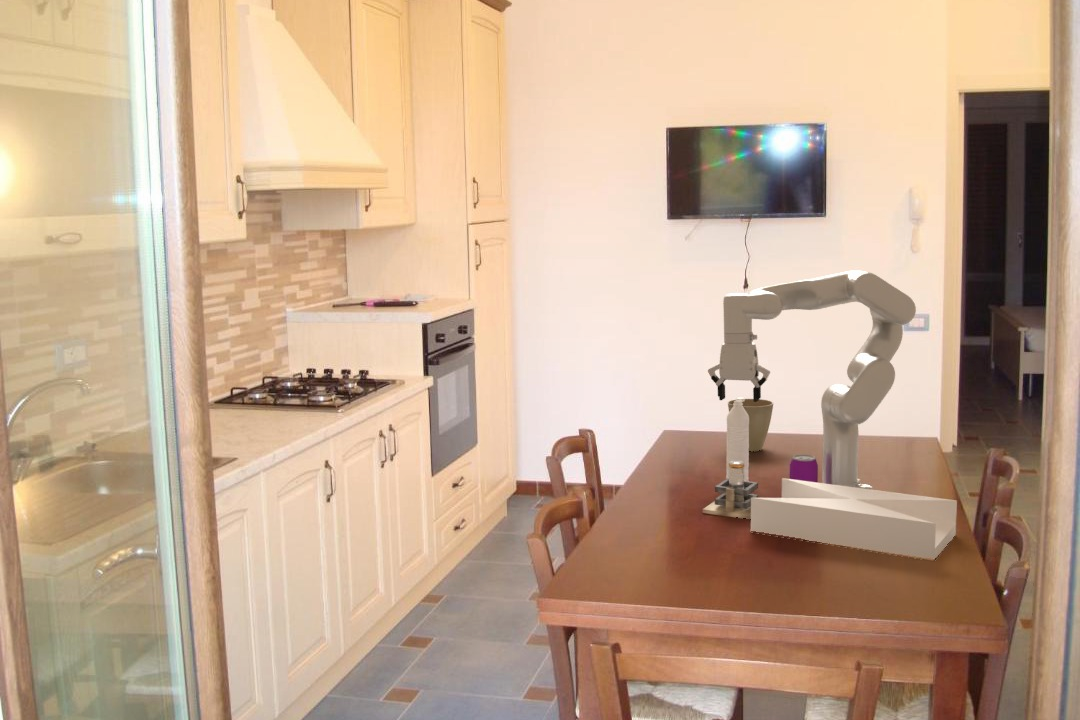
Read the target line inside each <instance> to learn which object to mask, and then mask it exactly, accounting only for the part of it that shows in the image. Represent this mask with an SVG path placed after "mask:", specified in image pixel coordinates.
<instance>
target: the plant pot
mask: <svg viewBox="0 0 1080 720" xmlns="http://www.w3.org/2000/svg"><path fill="white" fill-rule="evenodd" d="M734 401H736V399H731V400H729V401H727V407H728V413H729V412H730V410H731V409H732V408H733V406H734ZM742 404H743V405H742V406H743V408H744V409H745V411H746V412H747V414H748V416H749V449H748V450H749V451H751V453H752V452H753V451H754V452H760V451H762V449H763V446H764V443H765V442H766V438H767V436H768V432H769V429H770V425H771V419H772V415H773V409H774V402H773V401H772V400H768V399H762V398H760V399H759V401H757V402H754V401H753V398H745V401H744V402H742ZM759 450H760V451H759Z"/></svg>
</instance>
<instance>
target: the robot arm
mask: <svg viewBox="0 0 1080 720" xmlns="http://www.w3.org/2000/svg"><path fill="white" fill-rule="evenodd" d="M722 302H723V338H724V339H723V340H724V341H723V343H722V344H721V348H720V354H719V364H717V365H715V366H712V367H710V368H708V370H707V372H708V374H709V376H710V378H711V380H712V382H713V383H715V385H716V387H717V397H718V398H719V401H724V399H726V384H725V382H726V380H728V381H750V382H751V383H752V384H753V386H754V387H752V388H753V389H752V390H753V391H752V393H753V394H752V396H753V398H752V399H753V401H754V402H757V401H759V399H762V395H761V394H762V392H761V391H762V387H761V386H763V385H764V384H765V382H766V381H767V380H768V378H769V376H770V374H771V371H770V370H769V369H767V368H766V367H763V366H761V365H760V364H759V359H758V358H759V357H758V349H757V345H756V343H755V342H754V341H755V340H756V341H757V340H758V335H757V334H754V333H753V320H762V321H765V320H766V321H768V320H769V321H770V320H774V319H776V318H777V317H778V316H780V315H781V313H782V311H788V310H803V311H804V310H805V311H813V310H814V311H815V310H822V309H826V308H830V307H834V306H839V305H845V304H850V303H861V304H863V305H864V306H865V307H867V308H868V309H869V312H870V315H871V319H872V329H871V331H870V334H869V335H868V337H867V338H866V340H865V341H864V343H863V344H862V346H861V347H860V348H859V350H858V351H857V353H856V354H855V355H854V357H853V358H852V359H851V361H850V362H849V364H848V365H847V369H846V375H847V377H848V379H849V380H850V382H851V383H853V384H852V385H848V384H843V383H834V384H832V385H831V386H828V388H826V389H825V391H824V392H823V394H822V397H821V403H820V405H821V414H822V425H823V426H822V427H823V432H822V434H823V438H822V439H823V440H822V482H821V483H825V484H833V485H840V486H848V487H856V488H864V489H871V490H874V487H873V486H871V485H870V484H862V483H861V478H858V471H859V469H858V465H859V463H858V462H859V440H860V439H859V435H860V434H859V425H861V424H863V423H865V422H866V421H868V420H869V419H870V418H871V416H872V415H873V414H874V413H875V411H876V410H877V409H878V407H879V406H880V404H881V403H882V401H883V400H884V399H885V397H886V396H887V394H889V392H890V391H891V389H892V387H893V385H894V382H895V379H896V371H895V370H896V369H895V367H894V366H893V365H894V364H892V362H891V361H892V360H893V357H894V356H895V355H896V353H897V352H898V349H899V348H900V346H901V344H902V342H903V341H902V340H903V335H904V333H903V332H904V331H903V329H904V328H903V326H905V325H907V324H908V323H910V322H912V320H914V318H915V316H916V313H917V312H916V311H917V309H916V303H915V302H914V300H913V299H912V297H910V296H909V295H908V294H906V293H904V292H903V291H901V290H900V289H898V288H897V287H895V286H894V285H892V284H890V283H889V282H888V281H886V280H884V279H883V278H882V277H880V276H878V275H877V274H874V273H872V272H870V271H863V270H857V269H855V270H849V271H843V272H840V273H839V272H838V273H834V274H829V275H825V276H820V277H814V278H809V279H803V280H798V281H792V282H787V283H779V284H774V285H769V286H763V287H760V288H757V289H755V288H754V289H753V290H751V291H750V292H749V293H745V292H744V293H743V292H734V293H733V292H732V293H727V294H726V295H724V297H723V301H722ZM716 371H718V372H719V376H718V375H717V374H716ZM760 373H761V374H762V378H761V379H759V375H760Z"/></svg>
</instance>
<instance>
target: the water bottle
mask: <svg viewBox="0 0 1080 720" xmlns="http://www.w3.org/2000/svg"><path fill="white" fill-rule="evenodd" d="M745 399H746V398H745V397H741V396H739V397H736V398H735V400H736V401H734V406H733V408H732V409H731V410H730V412H729V411H728V413H727V415H726V451H725V452H726V458H725V459H726V460H725V462H726V465H725V466H726V471H725V473H726V476H725V480H726V479H729V462H731V461H741V462H744V463H745V466H744V480H747V481H749V472H750V471H749V467H750V465H749V464H750V462H749V460H750V458H749V456H750V452H749V450H748V449H749V416H748V414H747V412H746V411H745V409H744V408H743V406H742V405H743V404H742V402H744V401H745Z"/></svg>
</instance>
